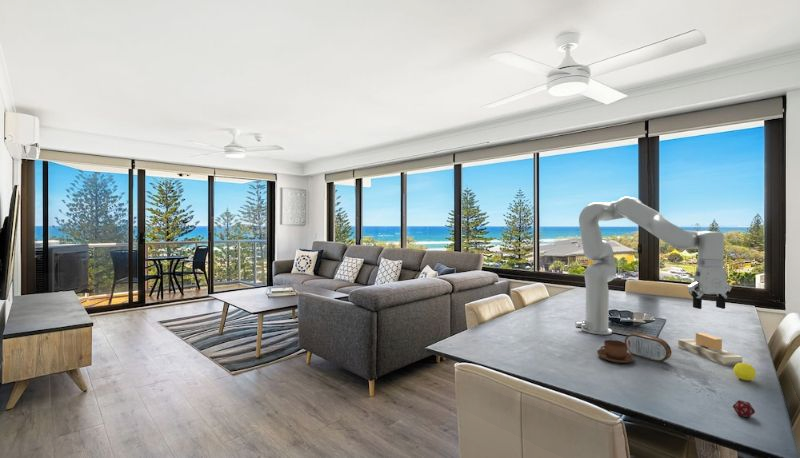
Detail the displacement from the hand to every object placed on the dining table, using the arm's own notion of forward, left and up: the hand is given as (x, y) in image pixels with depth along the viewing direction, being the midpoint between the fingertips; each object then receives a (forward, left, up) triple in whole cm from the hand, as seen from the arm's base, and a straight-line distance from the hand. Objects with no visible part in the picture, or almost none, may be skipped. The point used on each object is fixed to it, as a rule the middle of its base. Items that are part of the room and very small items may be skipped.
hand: (708, 308), depth 144 cm
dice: (-32, -43, -19) cm, 57 cm away
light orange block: (0, 0, -18) cm, 18 cm away
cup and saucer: (-39, -2, -19) cm, 43 cm away
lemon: (-8, -22, -19) cm, 30 cm away
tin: (-26, -1, -19) cm, 32 cm away
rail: (0, 0, -18) cm, 18 cm away
